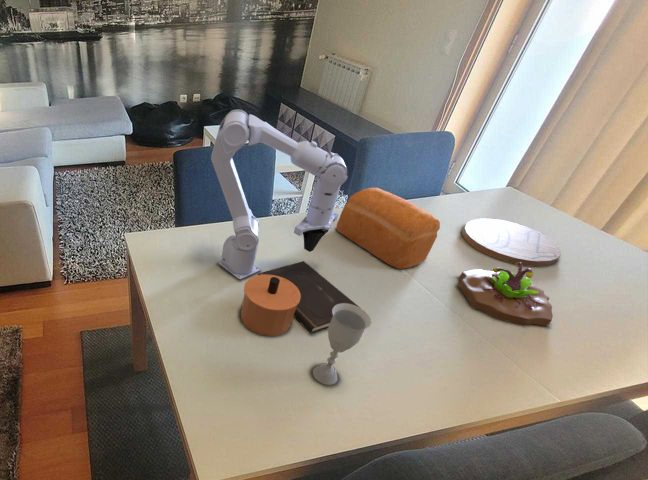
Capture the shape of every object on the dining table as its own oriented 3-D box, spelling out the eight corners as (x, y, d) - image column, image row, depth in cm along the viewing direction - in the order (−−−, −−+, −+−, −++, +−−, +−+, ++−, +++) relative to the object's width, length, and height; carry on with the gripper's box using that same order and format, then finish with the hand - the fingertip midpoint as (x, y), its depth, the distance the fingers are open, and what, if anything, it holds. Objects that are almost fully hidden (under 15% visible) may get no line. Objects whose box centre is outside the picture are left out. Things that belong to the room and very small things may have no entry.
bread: (396, 272, 116) (419, 225, 106) (331, 229, 135) (345, 186, 125) (429, 261, 120) (454, 215, 110) (361, 221, 139) (377, 178, 129)
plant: (468, 314, 102) (491, 280, 95) (451, 270, 117) (471, 238, 110) (562, 333, 97) (595, 299, 90) (533, 285, 111) (559, 252, 104)
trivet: (551, 236, 131) (555, 231, 130) (562, 276, 115) (567, 271, 114) (462, 216, 142) (465, 211, 140) (461, 250, 125) (464, 245, 124)
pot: (230, 312, 103) (235, 287, 98) (265, 296, 108) (271, 271, 103) (265, 343, 95) (272, 317, 89) (301, 323, 100) (309, 298, 95)
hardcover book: (301, 267, 118) (303, 260, 117) (360, 316, 102) (363, 310, 100) (256, 279, 114) (257, 273, 112) (310, 334, 97) (312, 327, 96)
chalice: (303, 363, 90) (325, 304, 79) (332, 361, 91) (358, 302, 79) (316, 390, 84) (343, 330, 73) (347, 387, 85) (378, 328, 74)
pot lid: (232, 289, 98) (234, 274, 95) (270, 271, 104) (274, 257, 101) (272, 321, 89) (276, 306, 86) (311, 300, 95) (316, 285, 92)
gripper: (315, 219, 95) (301, 265, 103) (353, 203, 101) (337, 248, 109) (292, 207, 99) (281, 252, 108) (330, 193, 105) (316, 236, 114)
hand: (308, 249), depth 109 cm, fingers closed
